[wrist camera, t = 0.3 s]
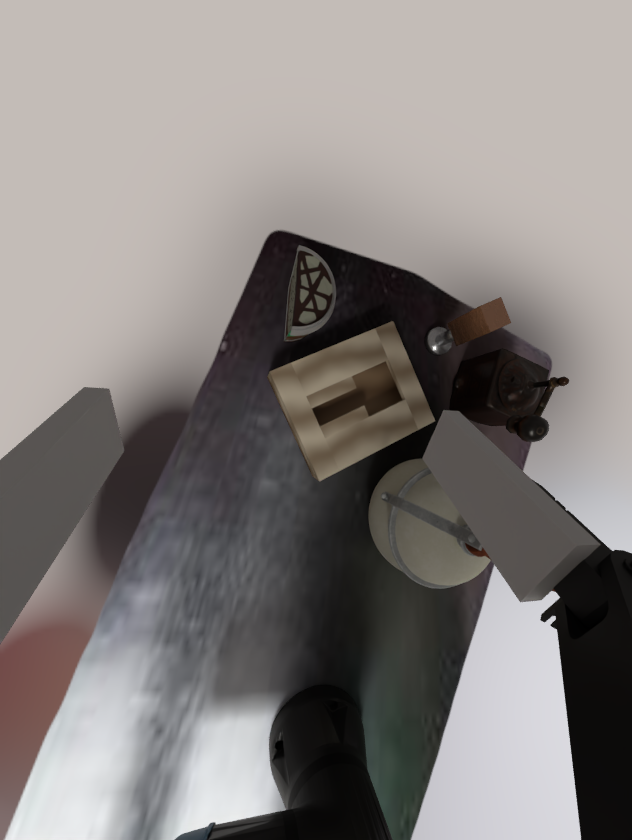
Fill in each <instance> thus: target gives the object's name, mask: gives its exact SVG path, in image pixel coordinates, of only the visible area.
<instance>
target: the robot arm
mask: <svg viewBox="0 0 632 840" xmlns="http://www.w3.org/2000/svg"><path fill="white" fill-rule="evenodd" d="M123 452H124V448H123V444H122V439H121V436H120V431H119V427H118V423H117V419H116V415H115V411H114V407H113V403H112V399H111V395H110V390H109V389H104V388H88V387H84V388H83V389H82V390H81V391H79V392H78V393H77V394H76V395H75V396H73V397H72V398H71V399H70V400H69V401H68V402H67V403H65V404H64V405H63V406H62V407H61V408H60V409H58V410H57V411H56V412H55V413H54V414H53V415H52V416H51V417H49V418H48V419H47V420H46V421H45V422H44V423H42V424H41V425H40V426H39V427H38V428H37V429H36V430H34V431H33V432H32V433H31V434H30V435H29V436H27V437H26V438H25V439H24V440H23V441H22V442H20V443H19V444H18V445H17V446H16V447H15V448H14V449H12V450H11V451H10V452H9V453H8V454H7V455H5V456H4V457H3V458H2V459H1V460H0V644H1V642H2V641H3V639H4V638H5V636H6V635H7V633H8V631H9V630H10V628H11V627H12V625H13V624H14V622H15V621H16V619H17V617H18V616H19V614H20V613H21V611H22V610H23V608H24V607H25V605H26V603H27V602H28V600H29V599H30V597H31V596H32V594H33V592H34V591H35V589H36V588H37V586H38V584H39V583H40V581H41V580H42V578H43V577H44V575H45V574H46V572H47V571H48V569H49V567H50V566H51V564H52V563H53V561H54V560H55V558H56V557H57V555H58V553H59V552H60V550H61V549H62V547H63V546H64V544H65V542H66V541H67V539H68V537H69V536H70V535H71V533H72V532H73V530H74V528H75V527H76V525H77V524H78V522H79V520H80V519H81V517H82V516H83V514H84V513H85V511H86V510H87V508H88V507H89V505H90V503H91V502H92V500H93V499H94V497H95V496H96V494H97V492H98V491H99V489H100V488H101V486H102V485H103V483H104V482H105V480H106V478H107V477H108V475H109V473H110V472H111V471H112V469H113V468H114V466H115V464H116V463H117V461H118V460H119V458H120V456H121V455H122V454H123ZM422 459H423V460H424V462H425V463H426V465H427V466H428V468H429V469H430V471H431V472H432V474H433V475H434V477H435V478H436V479H437V481H438V482H439V484H440V485H441V487H442V488H443V490H444V491H445V493H446V494H447V496H448V497H449V498H450V500H451V501H452V503H453V504H454V506H455V507H456V509H457V510H458V512H459V513H460V515H461V516H462V518H463V519H464V520H465V522H466V523H467V525H468V526H469V528H470V529H471V531H472V532H473V534H474V535H475V537H476V538H477V539H478V541H479V542H480V544H481V545H482V547H483V548H484V550H485V551H486V553H487V554H488V556H489V557H490V558H491V560H492V561H493V563H494V564H495V566H496V567H497V569H498V570H499V572H500V573H501V575H502V576H503V577H504V579H505V580H506V582H507V583H508V585H509V586H510V588H511V589H512V591H513V592H514V594H515V595H516V597H517V598H518V599H519V601H520V602H526V601H537V600H542V599H543V598H544V597H545V596H546V595H547V594H548V593H549V592H550V591H552V590H553V589H554V590H555V591H556V593H557V594H558V595H559V596H560V598H559V599H558V600H557V601H556V602H555V603H554V604H553V605H552V606H550V607H549V608H548V609H547V610H546V611H545V612H544V613H543V614H542V615H541V621H543V622H546V621H547V620H548V619H549V618H550V617H551V616H556V620H555V621H554V622H553V623H552V624H551V626H552V627H553V628H555V629H557V632H558V640H559V649H560V658H561V666H562V675H563V684H564V692H565V701H566V709H567V718H568V727H569V736H570V745H571V753H572V762H573V771H574V778H575V788H576V795H577V796H576V797H577V805H578V813H579V822H580V831H581V840H632V553H629V552H626V551H621V550H614V551H612V550H610V549H609V548H608V547H607V546H606V545H605V544H604V543H603V542H601V541H600V540H599V539H598V538H597V537H596V536H595V535H594V534H593V533H592V532H591V531H590V530H589V529H588V528H587V527H585V526H584V525H583V524H582V523H581V522H580V521H579V520H578V519H577V518H576V517H575V516H574V515H573V514H571V513H570V512H569V511H566V510H565V507H564V506H563V505H562V504H561V503H560V502H559V501H555V498H554V497H553V496H552V495H551V494H550V493H549V492H548V491H547V490H546V489H544V488H543V487H542V486H541V485H539V484H538V483H536V482H535V481H533V480H532V479H530V478H529V477H528V476H527V475H526V474H525V473H524V472H523V471H522V470H521V469H520V468H519V467H518V466H517V465H516V464H514V463H513V462H512V461H511V460H510V459H509V458H508V457H507V456H506V455H505V454H504V453H503V452H502V451H501V450H500V449H499V448H497V447H496V446H495V445H494V444H493V443H492V442H491V441H490V440H489V439H488V438H487V437H486V436H485V435H484V434H483V433H481V432H480V431H479V430H478V429H477V428H476V427H475V426H474V425H473V424H472V423H471V422H470V421H469V420H468V419H467V418H466V417H464V416H463V415H462V414H461V413H460V412H459V411H448V410H443V412H442V415H441V417H440V419H439V421H438V424H437V426H436V428H435V431H434V433H433V435H432V437H431V440H430V442H429V444H428V446H427V449H426V451H425V453H424V455H423V458H422ZM269 754H270V766H271V771H272V775H273V778H274V780H275V783H276V785H277V788H278V790H279V793H280V795H281V798H282V800H283V803H284V805H285V808H286V810H285V811H280V812H275V813H270V814H265V815H260V816H256V817H251V818H246V819H241V820H237V821H232V822H227V823H222V824H217V825H216V823H215V822H213V823H210V824H209V826H208V827H205V828H201V829H198V830H194V831H191V832H188V833H184V834H182V835H180V836H179V837H177V838H176V839H175V840H392V837H391V834H390V832H389V829H388V826H387V823H386V820H385V818H384V815H383V812H382V809H381V807H380V804H379V801H378V798H377V796H376V793H375V790H374V787H373V784H372V782H371V779H370V776H369V773H368V770H367V760H366V748H365V736H364V728H363V723H362V720H361V717H360V714H359V712H358V709H357V707H356V704H355V703H354V701H353V699H352V698H351V697H350V696H349V695H348V694H347V693H346V692H345V691H343V690H341V689H339V688H337V687H334V686H328V685H321V686H315V687H311V688H308V689H306V690H304V691H302V692H300V693H299V694H297V695H296V696H294V697H293V698H292V699H291V700H290V701H289V702H288V703H287V704H286V705H285V706H284V707H283V708H282V710H281V711H280V713H279V714H278V716H277V718H276V720H275V722H274V724H273V727H272V730H271V733H270V739H269Z"/></svg>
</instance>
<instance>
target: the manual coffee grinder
mask: <svg viewBox="0 0 632 840" xmlns="http://www.w3.org/2000/svg"><path fill="white" fill-rule="evenodd" d="M548 373H549V370H547V369H545V368H544V367H542V366H540V365H538V364H535V363H533V362H531V361H529V360H527V359H525V358H523V357H521V356H519V355H517V354H514V353H512V352H510V351H508V350H505V349H500V350H497V351H494V352H490V353H487V354H484V355H481V356H478V357H475V358H472V359H469V360H466V361H462V362H461V365H460V368H459V371H458V374H457V377H456V379H455V382H454V386H453V392H452V397H451V402H450V410H451V411H459V412H460V413H461V414H462V415H463V416H464V417H466V418H467V419H470V420H472V421H475V422H477V423H481V424H485V425H489V426H506V429H507V430H508V431H509V432H510V433H515V434H516V433H517V435H518V436H519V437H520V438H521V439H522V440H524V441H527V442H535V441H539V440H542V439H543V438H544V437H545V436H546V435H547V433H548V431H549V424H548V422H547V421H546V420H545V419H544V418H542V417H541V415H542V413H543V411H544V409H545V407H546V405H547V403H548V401H549V398H550V396H551V394H552V392H553V390H554V388H555V387H558V386H559V385H560V386H565V385H567V384H568V383H569V379H568V378H566V377H561V378H555V377H553V378H551V379H550V380H548V381H547V377H548ZM545 387H547V388H546V389H545ZM544 389H545V392H544ZM543 393H544V394H543Z"/></svg>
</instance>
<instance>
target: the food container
mask: <svg viewBox="0 0 632 840" xmlns="http://www.w3.org/2000/svg"><path fill="white" fill-rule="evenodd" d="M335 299H336V286H335V281H334V277H333V274H332V272H331V270H330V268H329V266H328V265H327V263H326V262H325V261H324V260H323V259H322V258H321V257H320V256H319V255H318V254H317V253H315V252H314V251H312V250H311V249H309V248H306V247H304V246H301V245H299V246H298V249H297V255H296V259H295V263H294V267H293V271H292V275H291V279H290V283H289V287H288V299H287V311H286V324H285V336H284V342H293V341H298V340H301V339H302V338H304V337H305V336H307V335H308V334H310V333H312V332H315V331H316V330H318V329H319V328H321V327H322V326H323V325H324V324H325V323H326V322H327V321H328V319H329V318H330V316H331V314H332V312H333V309H334V305H335Z"/></svg>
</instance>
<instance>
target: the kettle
mask: <svg viewBox="0 0 632 840" xmlns="http://www.w3.org/2000/svg"><path fill="white" fill-rule="evenodd" d="M368 519H369V527H370V532H371V535H372V538H373V541H374V543H375V545H376V547H377V548H378V550H379V551H380V553H381V554H382V555H383V557H384V558H385V559H386V560H387V561H388V562H389V563H390V564H392V565H393V566H394V567H396V568H397V569H399V570H400V571H402V572H404V573H405V574H406V575H407V576H408V577H409V578H411V579H412V580H413V581H415V582H417V583H419V584H421V585H423V586H426V587H430V588H449V587H453V586H456V585H459V584H461V583H464V582H467V581H469V580H471V579H473V578H474V577H476V576H477V575H478V574H480V573H481V572H482V571H483V570H484V569H485V568H486V566H487V565H488V564H489V562H490V561H491V558H490V557H489V556H488V554H487V553H486V551H485V550H484V548H483V547H482V545H481V544H480V542H479V541H478V539H477V538H476V537H475V535H474V534H473V532H472V531H471V529H470V528H469V526H468V525H467V523H466V522H465V520H464V519H463V518H462V516H461V515H460V513H459V512H458V510H457V509H456V507H455V506H454V504H453V503H452V501H451V500H450V498H449V497H448V496H447V494H446V493H445V491H444V490H443V488H442V487H441V485H440V484H439V482H438V481H437V479H436V478H435V477H434V475H433V474H432V472H431V471H430V469H429V468H428V466H427V465H426V463H425V462H424V460H423V459H413V460H408V461H405V462H403V463H400V464H398V465H396V466H395V467H393V468H392V469H390V470H389V471H388V472H387V473H386V474H385V475H384V476H383V477H382V478H381V480H380V481H379V482H378V484H377V486H376V487H375V489H374V491H373V494H372V497H371V500H370V504H369V512H368ZM552 591H555V590H554V589H553V590H552ZM555 592H556V591H555Z"/></svg>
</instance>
